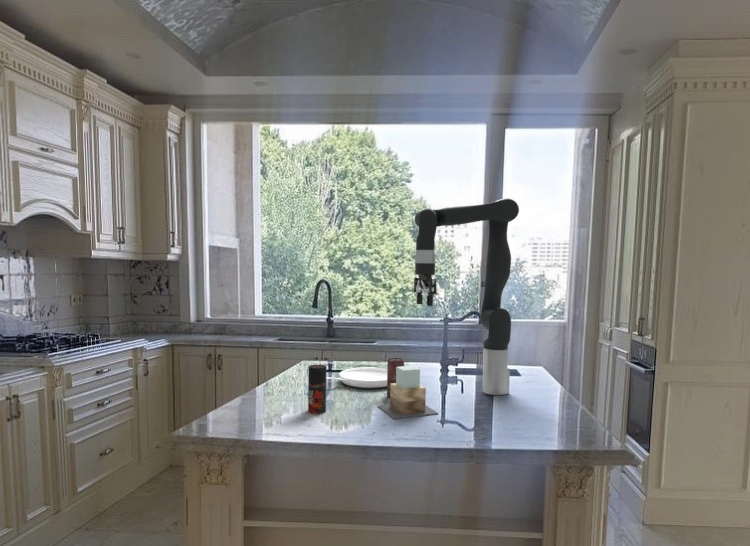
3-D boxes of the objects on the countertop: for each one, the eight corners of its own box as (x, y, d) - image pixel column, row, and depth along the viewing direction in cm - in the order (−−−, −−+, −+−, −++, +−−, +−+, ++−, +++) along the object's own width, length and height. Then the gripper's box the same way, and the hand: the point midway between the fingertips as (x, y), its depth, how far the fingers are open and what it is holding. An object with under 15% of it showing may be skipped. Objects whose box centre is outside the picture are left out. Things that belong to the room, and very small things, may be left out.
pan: (411, 385, 195) (411, 373, 195) (330, 399, 174) (330, 386, 174) (376, 373, 216) (376, 363, 216) (300, 384, 194) (300, 372, 194)
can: (402, 399, 174) (403, 361, 174) (385, 398, 176) (386, 360, 175) (405, 394, 180) (405, 358, 180) (388, 393, 181) (389, 357, 181)
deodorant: (328, 409, 161) (329, 365, 161) (321, 414, 155) (321, 368, 155) (313, 407, 163) (313, 363, 163) (304, 412, 157) (305, 367, 157)
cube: (411, 382, 165) (412, 365, 165) (419, 387, 159) (420, 369, 159) (396, 384, 162) (396, 366, 162) (403, 388, 157) (403, 370, 157)
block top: (413, 393, 167) (413, 381, 167) (425, 399, 158) (425, 387, 158) (390, 395, 163) (390, 383, 163) (400, 402, 155) (400, 390, 155)
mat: (419, 402, 170) (419, 401, 170) (438, 414, 157) (438, 413, 157) (377, 406, 165) (377, 405, 165) (393, 419, 152) (393, 418, 152)
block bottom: (413, 404, 167) (413, 393, 167) (425, 411, 158) (425, 399, 158) (389, 406, 164) (390, 395, 163) (400, 414, 155) (400, 402, 155)
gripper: (443, 262, 175) (442, 306, 175) (425, 262, 188) (424, 303, 188) (424, 262, 172) (424, 306, 172) (408, 262, 185) (407, 303, 186)
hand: (424, 305), depth 180 cm, fingers open, 8 cm apart
